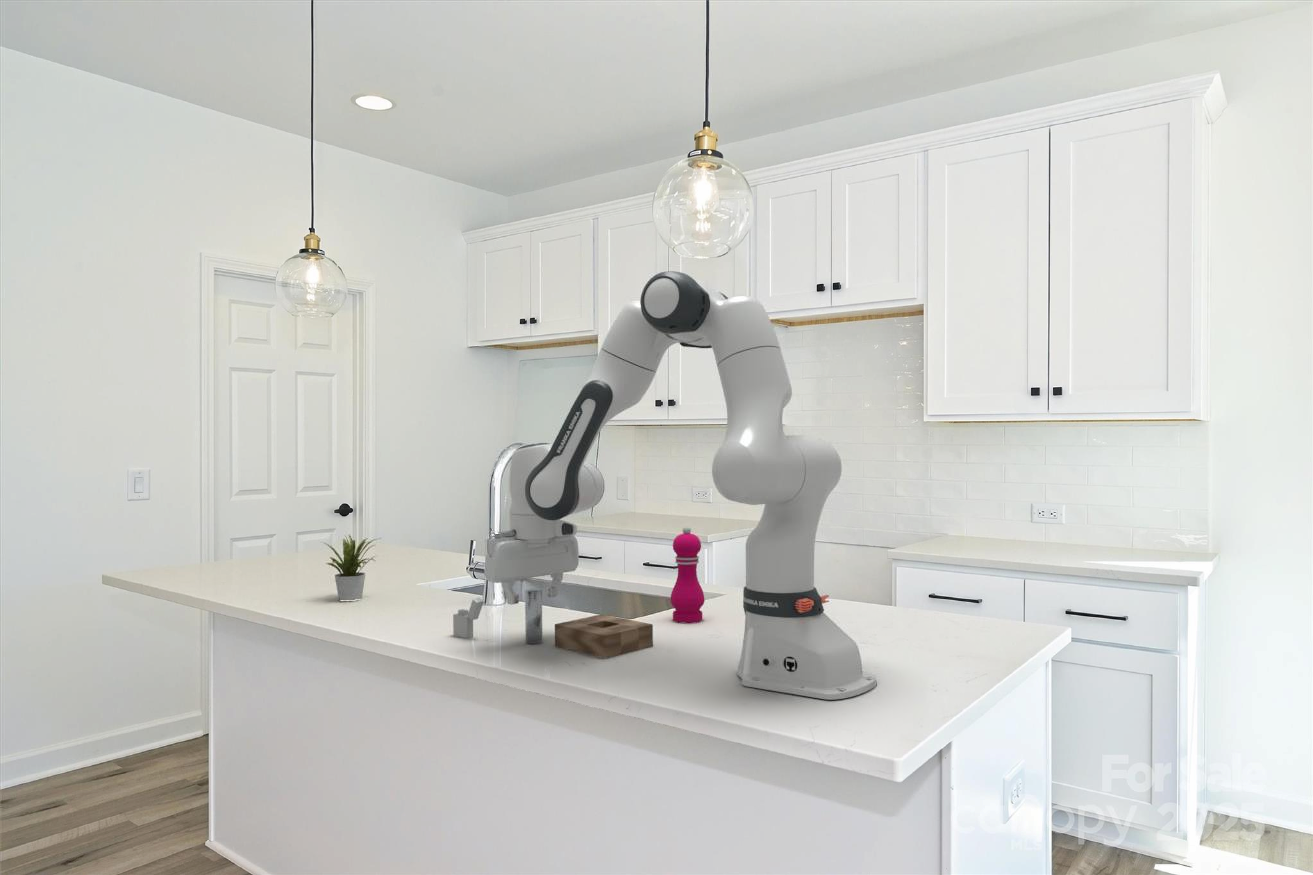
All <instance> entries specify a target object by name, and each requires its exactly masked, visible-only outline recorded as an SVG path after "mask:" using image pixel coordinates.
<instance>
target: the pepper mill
mask: <svg viewBox="0 0 1313 875" xmlns="http://www.w3.org/2000/svg"><path fill="white" fill-rule="evenodd" d="M691 532H692V528H691V526H689V525H685V526H683V528H682V533H680V534H678V535H676V537H674V539H673V542H672V549H673V551H674V553H675V554H676V556H675V564H677V577H676V581H675V583H674V586H673V588H672V589H671V590H672V591H671V594H670V604H671V605H672V607H673V608H674V609H675V610H673V612H672V620H673V621H674V620H675V621H677V622H676V623H679V622H685V623H684V624H693V623H692V622H696V623H700V622H702V621H703V611H702V610H700V609H701V608H702V607H703V605H704V604H705V600H706V599H705V595H704V590H703V589H702V586H701V584H700V582H699V579H698V575H697V574H698V573H697V569H698V568H697V566H698V564H699V561H700V560H699V558H700V557H699V556H698V554H699V553H700V551H701V550H702V549H701V548H702V542H701V540H700V538H699V537H698V536H697V535H696V534H694V533H691ZM675 621H674V622H675Z"/></svg>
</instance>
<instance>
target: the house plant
mask: <svg viewBox="0 0 1313 875" xmlns="http://www.w3.org/2000/svg"><path fill="white" fill-rule="evenodd" d="M344 537H345V538H343V539H342V549H343V550H342V555H343V558H342V557H341V555H340V554H339V553H338V552H337V550H336V549H335V548H334V547H332V546H331V545H329V544H328V543H326V542H322V541H321V543H323V544H325V545H327V546H328V547H329V548H330V549H331V550H332V551H333V552H334V554H335V556H336V557H337V558H338V560H337V559H336V558H334V557H333V556H332V557H329V558H330V559H331V560H332V562H326V565H329V566H331V567H334V568H335V569H336V570H337V571H338V572H339V573H336V574H335V575H334V579H335V585H336V590H337V596H338V600H339V599H340V600H355V599H361V598H362V599H363V592H364V586H365V580H366V573H365V572H361V570H362V569H363V568H364V567H365V566H366V564H368V563H369V562H370V561H374V562H375V563H376V560H375V559H374V558H376V557H377V555H376V556H373V557H371V558H369V559H368V558H363V557H364V555H365V554H366V553H367V551H368V550H369V549H370V548H372V547H374V546H375V544H373V545H371V546H369V547H368V548H367V546H368V545H369V544H371V543H372V542H374V541H377V540H381V539H382V537H380V538H379V537H378V538H374V539H372V540H370V541H367V540H368V538H369V537H368V538H365V539H362V540H361V541H360V542H359V544H358V546H357V547H356V539H353V538H352V536H351V535H350V534H349V533H348V537H347V535H344ZM366 548H367V549H366ZM365 549H366V550H365ZM364 550H365V551H364ZM363 551H364V553H363ZM362 553H363V554H362ZM361 554H362V556H361ZM360 556H361V558H360ZM362 558H363V559H362ZM366 560H367V561H366ZM339 561H340V562H339ZM361 564H362V565H361ZM358 569H359V570H358Z"/></svg>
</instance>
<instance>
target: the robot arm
mask: <svg viewBox="0 0 1313 875" xmlns="http://www.w3.org/2000/svg"><path fill="white" fill-rule="evenodd" d="M678 343H679V345H680V346H681V347H686V348H694V349H695V348H697V349H712V352H713V354H714V358H715V359H714V360H715V362H716V363H715V364H716V366H717V370H718V374H719V378H720V379H719V380H720V383H721V387H722V392H723V396H724V401H725V407H726V414H727V416H726V418H727V421H726V422H727V423H726V432H725V437H724V440H723V441H722V442H723V443H722V444H721V445H720V447H719V448H718V449H717V451H716V453H715V454H714V457H713V460H712V464H711V465H712V466H711V475H712V476H711V477H712V481H713V483H714V486H715V487H716V490H717V491H718V493H720V495H721V496H722V498H724V499H727V500H728V501H731V502H736V503H740V504H746V505H750V506H757V505H758V506H759V505H764V507H763V511H762V514H761V516H760V519H759V521H758V523H757V525H756V526H755V527H754V529H753V530H752V531H751V532H750V533H749V534H748V536H747V538H746V542H745V586H744V587H743V598H742V602H743V603H742V607H743V611H744V616H745V618H744V634H743V642H742V648H741V654H740V659H739V663H738V666H737V668H736V669H737V670H736V675H737V677H739V678H740V679H741V685H742V686H743V687H748V688H756V689H759V690H760V689H762V690H767V691H774V692H779V693H785V694H790V695H791V694H793V695H796V696H805V697H809V698H816V699H822V700H827V701H828V700H829V701H831V700H841V699H847V698H851V697H855V696H858V695H861V694H864V693H866V692H868V691H870V690H872V689H874V687H876V685H877V683H878V681H877V676H876V674H873V673H871V672H868V671H863V665H862V664H863V663H862V658H861V654H860V650H859V646H858V644H857V642H856V641H855V640H854V639H853V638H852V637H851V636H849V635H848V634H847V633H846V632H845V631H844V630H843V629H842V628H841V627H839V626H838V625H837V623H835V622H834V621H833V620H832V618H830V617H829V616H828V615H827V614H826V613H825V612H824V611H825V609H824V608H825V607H824V605H823V604H827V603H829V602H830V600H826V599H828V598H829V597H830V595H829V594H826V595H822V596H820V594H819V592H818V590H817V588H816V587H815V546H816V545H815V544H816V535H817V530H818V527H819V522H820V518H821V516H822V512H823V509H824V506H825V503H826V502H827V499H828V497H829V495H830V493H832V491H833V490H834V489H835V488H836V487H837V485H838V483H839V481H840V479H841V476H842V461H841V457H840V454H839V452H838V451H837V449H836V448H835V447H834V446H833V445H832V444H831V443H829V442H827V441H826V440H823V439H820V438H818V437H817V438H816V437H814V436H811V435H805V434H804V435H799V434H798V435H793V434H792V435H786V433H785V432H784V428H783V413H784V409H785V408H786V406H788V404H789V403H790V401H791V399H792V396H793V389H792V384H791V380H790V379H789V378H790V377H789V374H788V370H787V366H786V363H785V360H784V356H783V353H782V349H781V346H780V343H779V338H778V337H777V334H776V331H775V329H774V326H773V324H772V322H771V319H770V317H769V315H768V313H767V311H766V309H765V308H764V305H763V304H762V302H760V301H759V300H758V299H757V298H755V297H753V296H749V295H736V296H731V297H728V296H727V295H725V294H724V293H722V292H720V291H718V290H717V289H715V288H714V287H712V286H710V284H708V283H706V282H704V281H702V280H700V279H698V278H697V277H696V278H695V277H692V276H690V275H688V274H687V273H685V272H681V271H680V272H679V271H673V270H672V271H671V270H669V271H662V272H659V273H657V274H655V275H653V276H652V277H651V278H650V279H649V280H648V281H647V282H646V284H645V285H644V287H643V289H642V291H641V293H640V300H639V299H638V300H633V301H632V300H631V301H630V302H628V303H626V304H625V305H624V306H623V307H622V309H621V310H620V312H619V313H618V315H617V316H616V318H615V320H614V322H613V323H612V325H611V327H610V329H609V330H608V332H607V334H606V336H605V338H604V340H603V342H602V346H601V348H600V350H599V352H598V355H597V357H596V359H595V361H594V363H593V366H592V369H591V370H590V372H589V375H588V377H587V379H586V381H585V383H584V384H583V386H582V389H581V390H580V392H579V394H578V396H577V398H575V400H574V403H573V405H572V406H571V408H570V410H569V412H568V413H567V416H566V418H565V420H564V422H563V423H562V425H561V428H560V429H559V431H558V433H557V436H556V437H555V440H554V441H553V443H552V444H551V443H548V442H539V443H532V444H526V445H522V446H519V447H517V448H516V449H515V450H514V451H513V452H512V456H511V460H510V467H509V493H510V497H511V503H510V508H509V530H504V531H495V532H493V533H492V534H491V535H490V536H489V537H488V539H487V540H486V552H485V553H486V554H485V561H484V571H483V572H484V573H483V574H484V578H485V579H486V580H487V581H488V582H490V583H495V584H501V588H502V589H503V591H504V593H505V594H506V603H507V604H508V605H510V606H511V605H517V604H519V602H520V601H519V598H520V594H519V593H518V594H517V593H515V590H514V588H513V587H515V581H520V580H525V579H533V578H538V577H539V578H540V577H545V576H550V579H552V580H551V582H550V585H549V586H548V587H546V597H547V598H555V597H559V596H558V595H559V587H560V585H561V583H562V581H563V578H564V573H570V572H571V573H572V572H575V571H576V570H577V569H578V566H579V558H580V556H579V555H580V554H579V553H580V552H579V543H578V542H579V541H578V539H577V536H575V535H577V532H578V525H577V524H576V523H573V522H570V521H566V520H564V518H566V517H568V516H571V515H573V514H578V513H582V512H584V511H585V512H586V511H588V510H590V509H592V508H594V507H595V506H596V505H598V504H599V503H600V502H601V500H602V498H603V496H604V493H605V480H604V477H603V474H602V472H601V471H600V470H599V469H598V467H596V466H595V465H594V464H592V463H589V462H586V459H587V458H588V455H589V453H590V452H591V450H592V448H593V445H594V444H595V441H596V439H597V437H598V435H599V434H600V432H601V430H602V429H603V428H604V427H605V425H606V424H607V423H608V422H610V420H612V419H613V418H614V417H616V416H617V415H620V414H621V413H622V412H625V411H627V410H629V409H630V408H632V407H634V406H635V405H637V404H638V403H640V401H641V400H642V399H643V397H644V396H645V394H646V393H647V391H648V390H649V388H650V387H651V384H652V383H653V381H654V378H655V375H656V373H657V372H658V368H659V366H660V363H661V361H662V359H663V357H664V355H665V354H666V351H667V350H668V349H669V348H670V347H671V346H673V345H675V344H678ZM562 519H563V520H562Z"/></svg>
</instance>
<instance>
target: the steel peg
mask: <svg viewBox="0 0 1313 875" xmlns="http://www.w3.org/2000/svg"><path fill="white" fill-rule="evenodd" d="M524 596H525V597H524V605H525V606H524V610H525V611H524V612H525V613H524V614H525V616H524V618H525V622H524V623H525V625H524V626H525V644H526V645H540V644H542V643H543V589H542V588H527V589H525V590H524Z"/></svg>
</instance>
